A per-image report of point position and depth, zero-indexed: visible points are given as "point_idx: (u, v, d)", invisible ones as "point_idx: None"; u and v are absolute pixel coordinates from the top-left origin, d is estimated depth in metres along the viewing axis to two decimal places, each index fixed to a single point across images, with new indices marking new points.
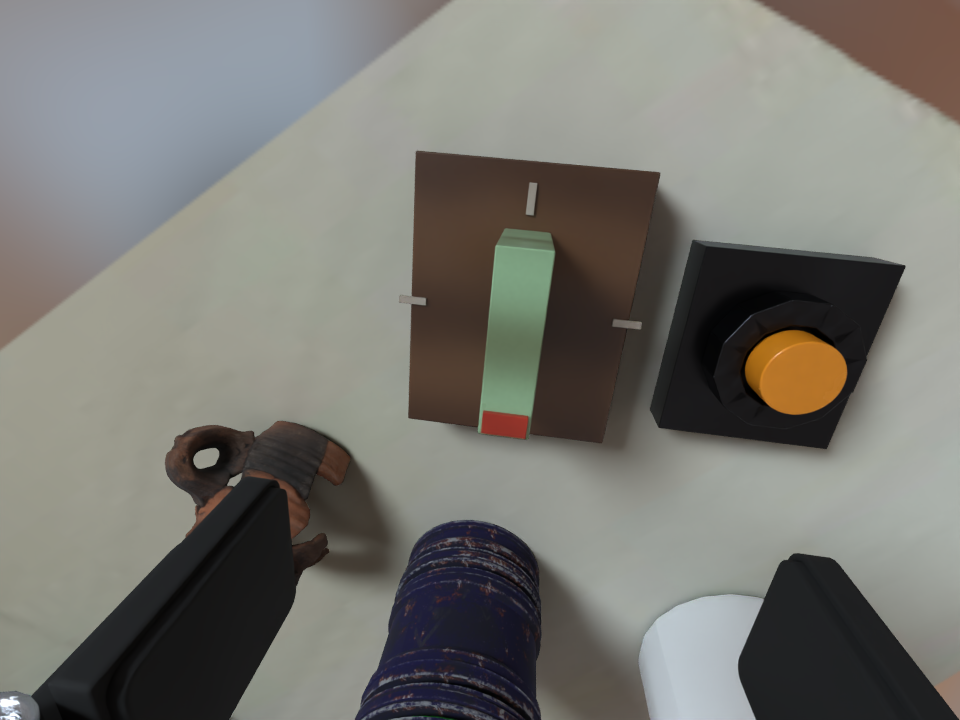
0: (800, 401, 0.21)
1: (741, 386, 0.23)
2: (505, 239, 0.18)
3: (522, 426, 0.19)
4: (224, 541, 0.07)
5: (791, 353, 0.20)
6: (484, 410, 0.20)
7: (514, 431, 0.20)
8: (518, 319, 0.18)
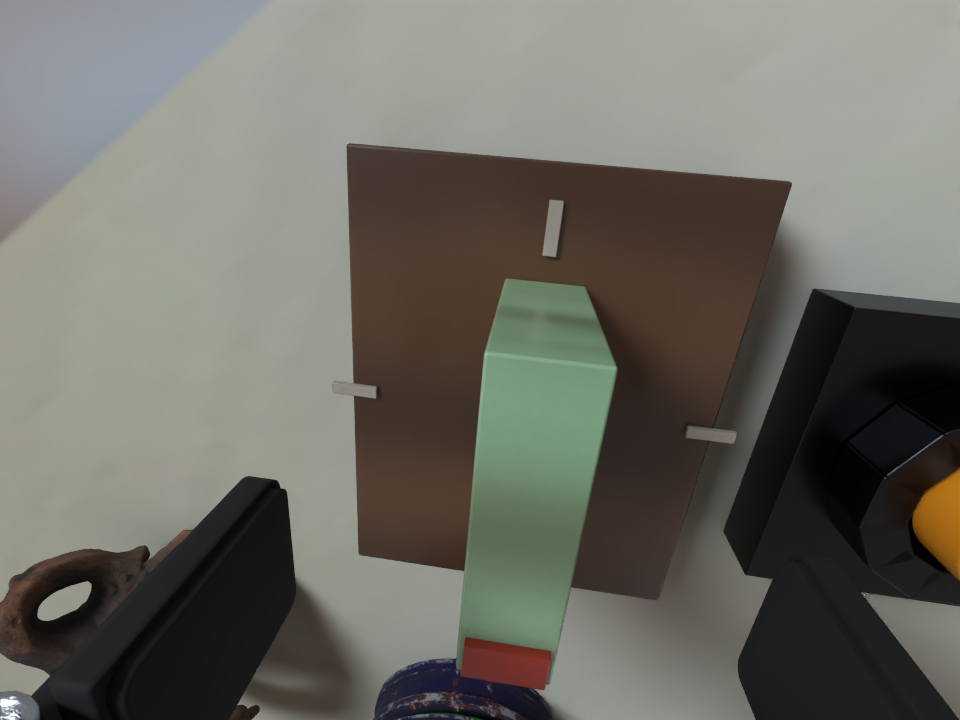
0: None
1: (907, 542, 0.13)
2: (506, 322, 0.09)
3: (539, 672, 0.10)
4: (224, 541, 0.07)
5: None
6: (467, 637, 0.10)
7: (524, 678, 0.10)
8: (533, 494, 0.09)
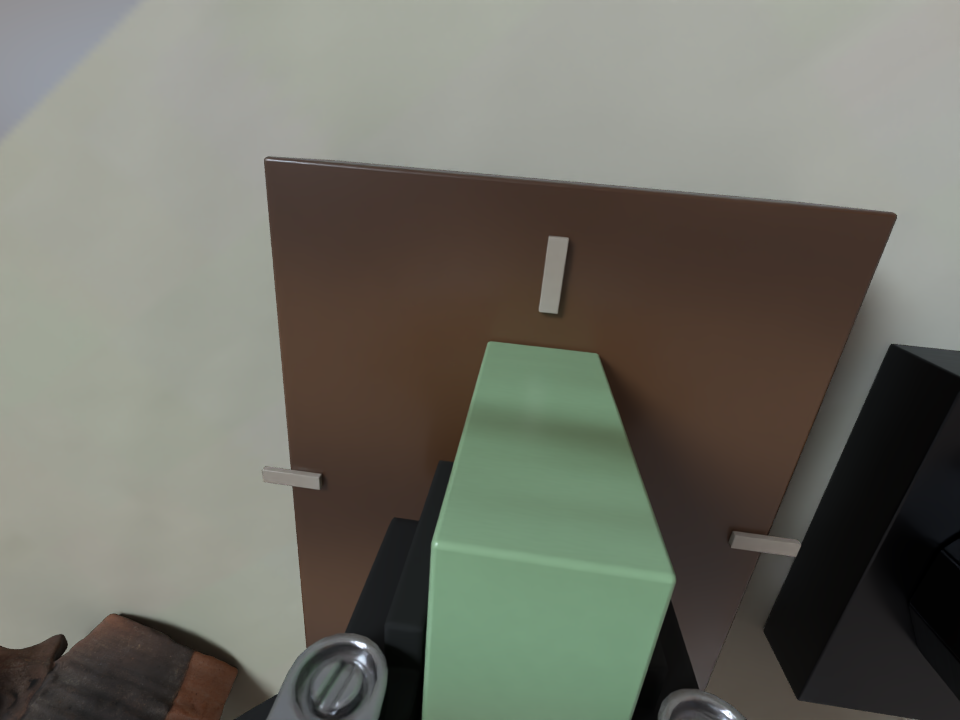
0: None
1: None
2: (480, 445, 0.06)
3: None
4: None
5: None
6: None
7: None
8: None
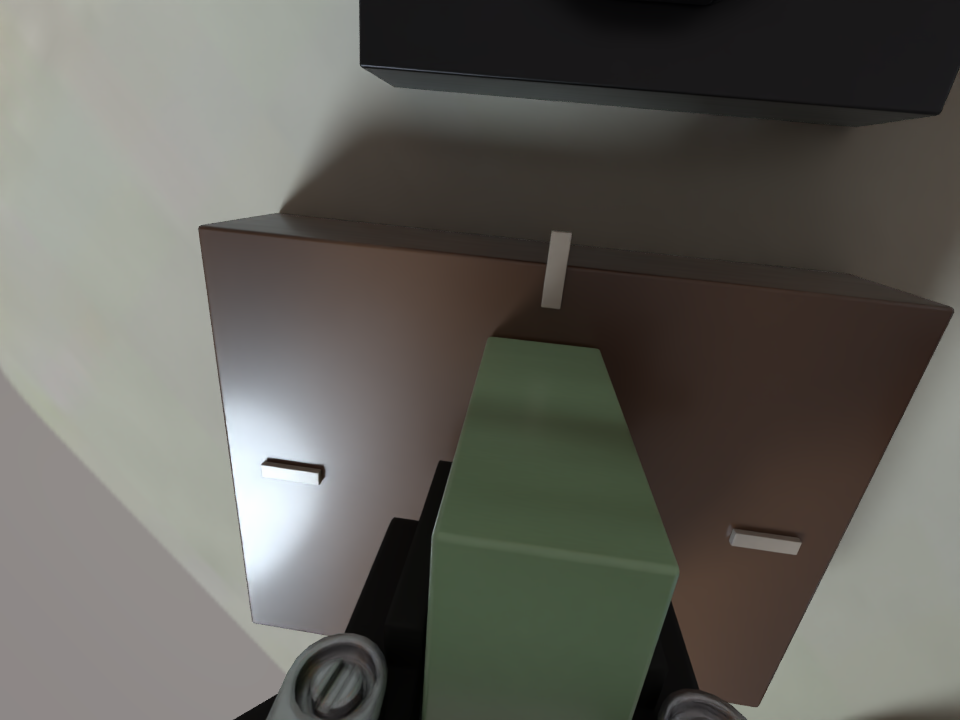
0: None
1: None
2: (480, 439, 0.06)
3: None
4: None
5: None
6: None
7: None
8: None
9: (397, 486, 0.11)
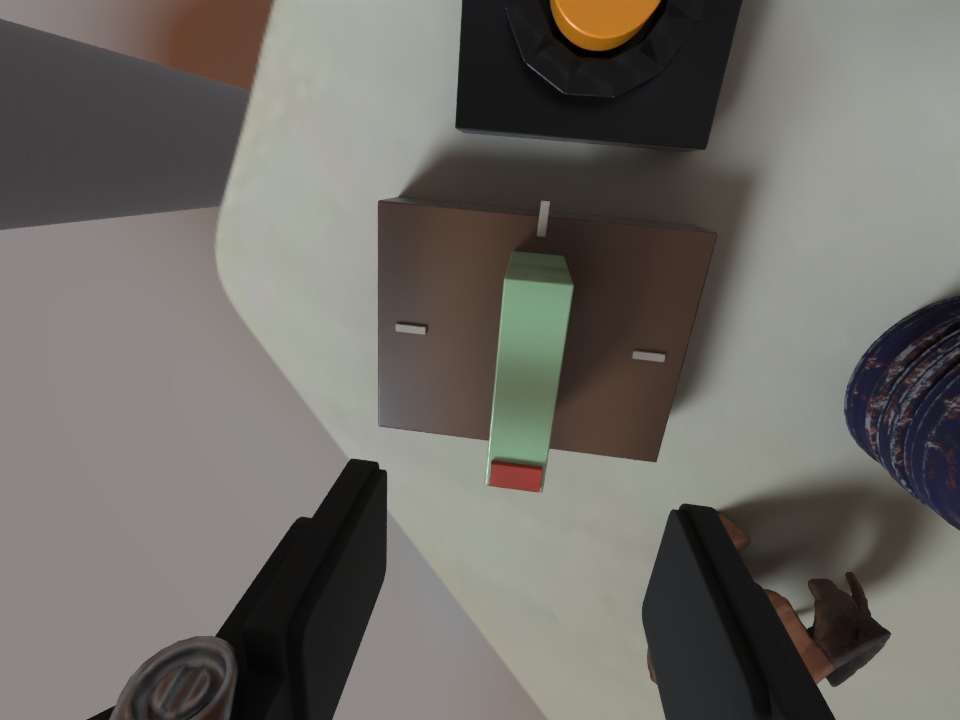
0: None
1: (631, 51, 0.16)
2: (514, 268, 0.16)
3: (535, 479, 0.17)
4: (349, 514, 0.08)
5: (568, 1, 0.14)
6: (492, 460, 0.17)
7: (526, 484, 0.17)
8: (531, 361, 0.16)
9: (465, 334, 0.21)
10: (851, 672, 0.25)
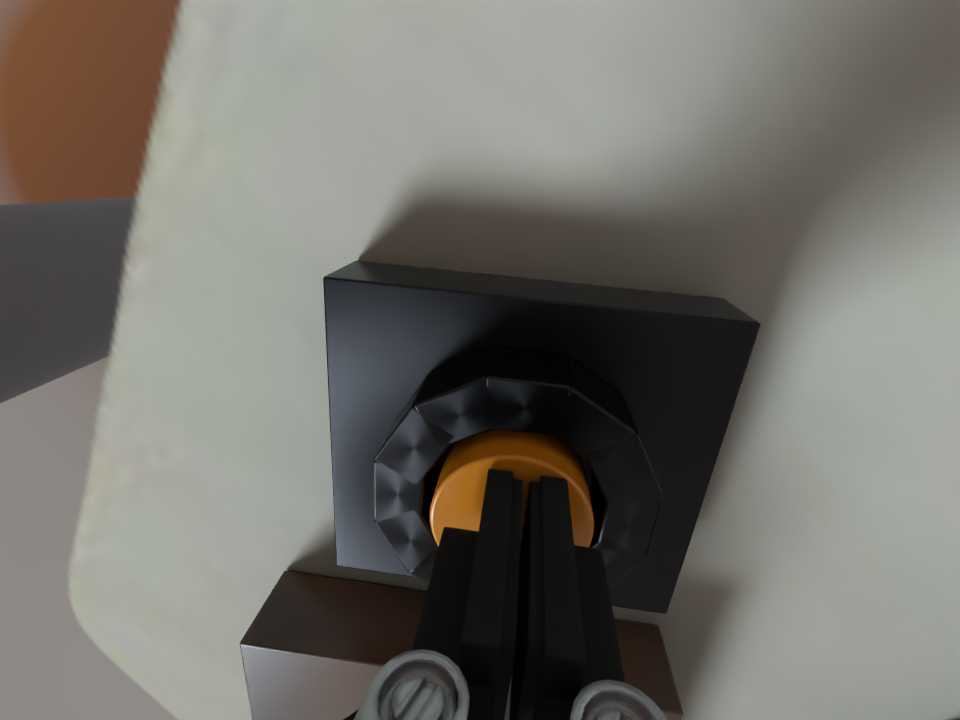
0: None
1: None
2: None
3: None
4: (510, 525, 0.08)
5: None
6: None
7: None
8: None
9: None
10: None
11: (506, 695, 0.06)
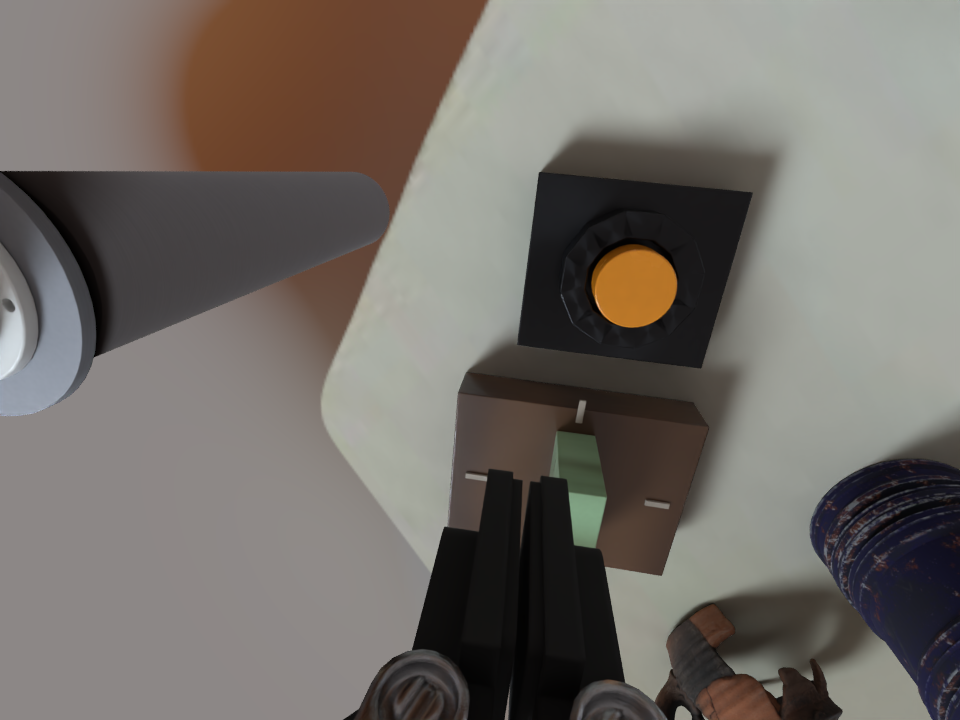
0: (660, 287, 0.21)
1: None
2: (564, 470, 0.23)
3: None
4: (511, 525, 0.08)
5: (605, 305, 0.21)
6: None
7: None
8: (575, 539, 0.23)
9: None
10: None
11: (506, 695, 0.06)
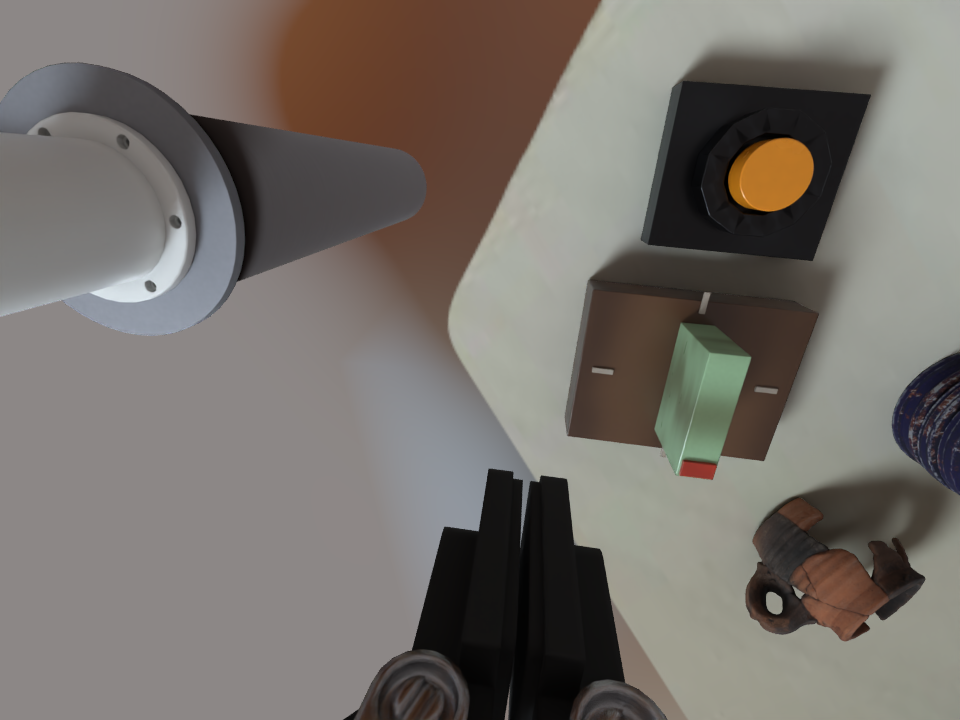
0: (799, 172, 0.24)
1: (777, 211, 0.26)
2: (704, 342, 0.27)
3: (711, 471, 0.27)
4: (511, 525, 0.08)
5: (748, 191, 0.25)
6: (683, 459, 0.28)
7: (705, 474, 0.28)
8: (718, 400, 0.26)
9: (639, 374, 0.32)
10: (895, 609, 0.35)
11: (506, 695, 0.06)
